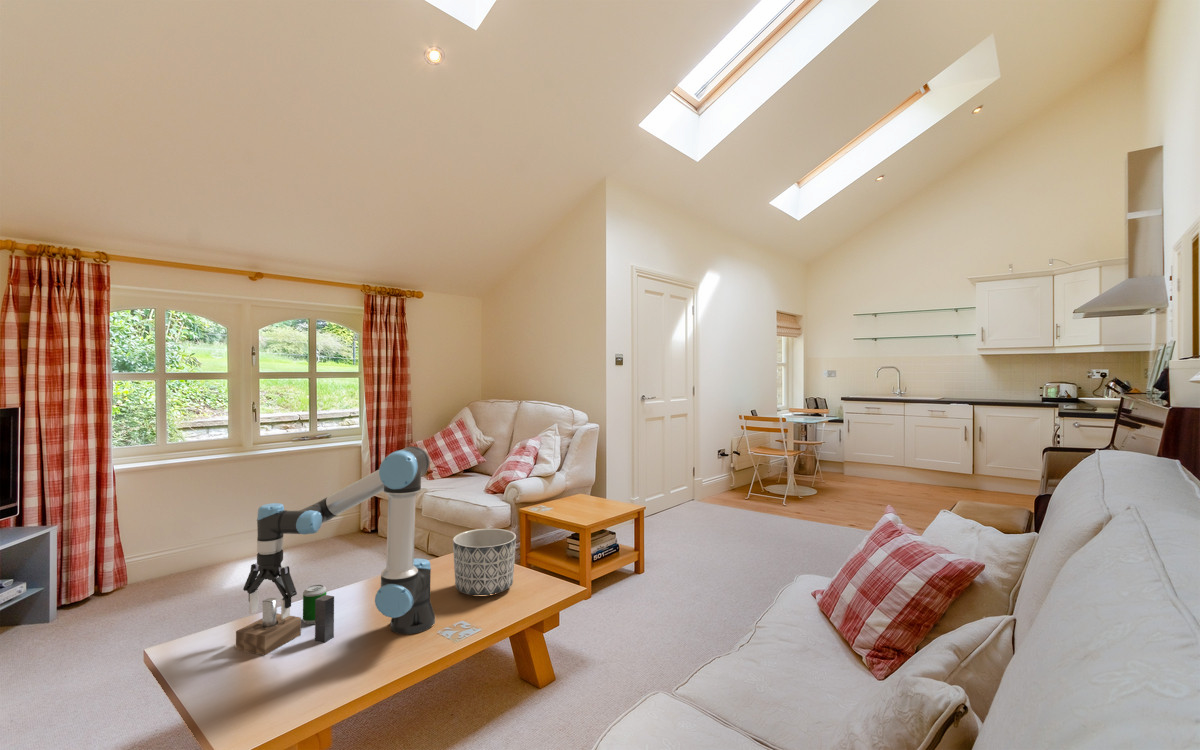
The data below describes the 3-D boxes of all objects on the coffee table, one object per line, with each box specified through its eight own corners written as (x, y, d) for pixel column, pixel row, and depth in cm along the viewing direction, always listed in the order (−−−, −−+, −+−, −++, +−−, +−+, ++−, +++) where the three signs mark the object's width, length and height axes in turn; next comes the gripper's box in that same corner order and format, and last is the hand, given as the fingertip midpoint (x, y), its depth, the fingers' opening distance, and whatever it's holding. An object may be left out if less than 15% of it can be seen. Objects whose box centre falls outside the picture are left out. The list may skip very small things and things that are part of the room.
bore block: (300, 634, 182) (300, 617, 182) (264, 655, 169) (264, 636, 169) (273, 629, 186) (273, 612, 186) (235, 649, 172) (236, 631, 172)
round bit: (279, 640, 179) (279, 598, 179) (268, 645, 175) (269, 603, 175) (269, 638, 180) (270, 597, 180) (259, 644, 176) (259, 602, 176)
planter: (466, 576, 237) (467, 527, 238) (523, 579, 234) (523, 529, 234) (441, 600, 212) (442, 545, 212) (504, 604, 208) (505, 548, 208)
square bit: (333, 637, 181) (334, 596, 181) (324, 642, 177) (325, 601, 177) (324, 635, 182) (324, 594, 182) (314, 641, 178) (315, 599, 178)
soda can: (316, 626, 189) (316, 592, 189) (297, 624, 190) (298, 590, 190) (330, 617, 196) (331, 584, 196) (313, 615, 198) (313, 582, 198)
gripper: (309, 551, 178) (308, 614, 177) (251, 544, 185) (251, 605, 184) (290, 558, 170) (289, 624, 170) (231, 550, 177) (230, 614, 177)
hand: (269, 614), depth 177 cm, fingers open, 13 cm apart
